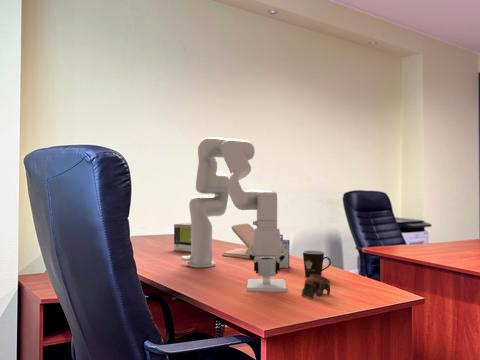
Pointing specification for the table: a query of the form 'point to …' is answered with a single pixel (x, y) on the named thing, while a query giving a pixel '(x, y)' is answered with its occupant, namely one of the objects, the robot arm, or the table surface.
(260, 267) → the collar
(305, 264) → the coffee mug
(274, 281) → the flange plate
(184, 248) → the tea box
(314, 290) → the brown animal figurine
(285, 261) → the ink cartridge box
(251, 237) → the case
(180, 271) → the table surface
